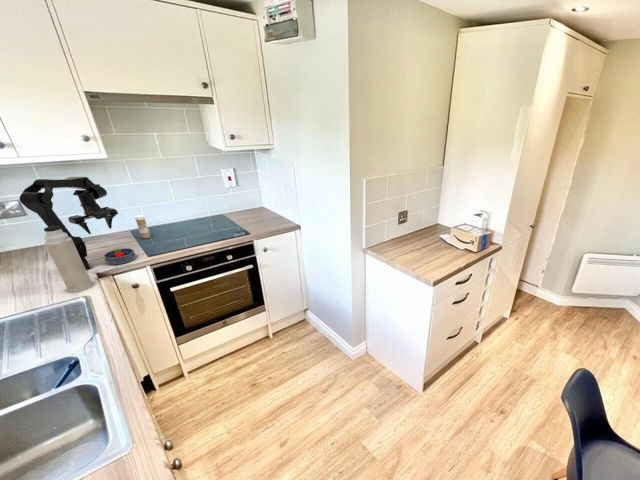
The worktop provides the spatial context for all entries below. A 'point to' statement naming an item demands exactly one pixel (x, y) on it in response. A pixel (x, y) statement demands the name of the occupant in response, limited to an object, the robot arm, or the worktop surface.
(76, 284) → the thermos bottle
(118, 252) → the strawberry
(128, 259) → the bowl
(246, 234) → the worktop surface
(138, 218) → the sprinkles bottle
